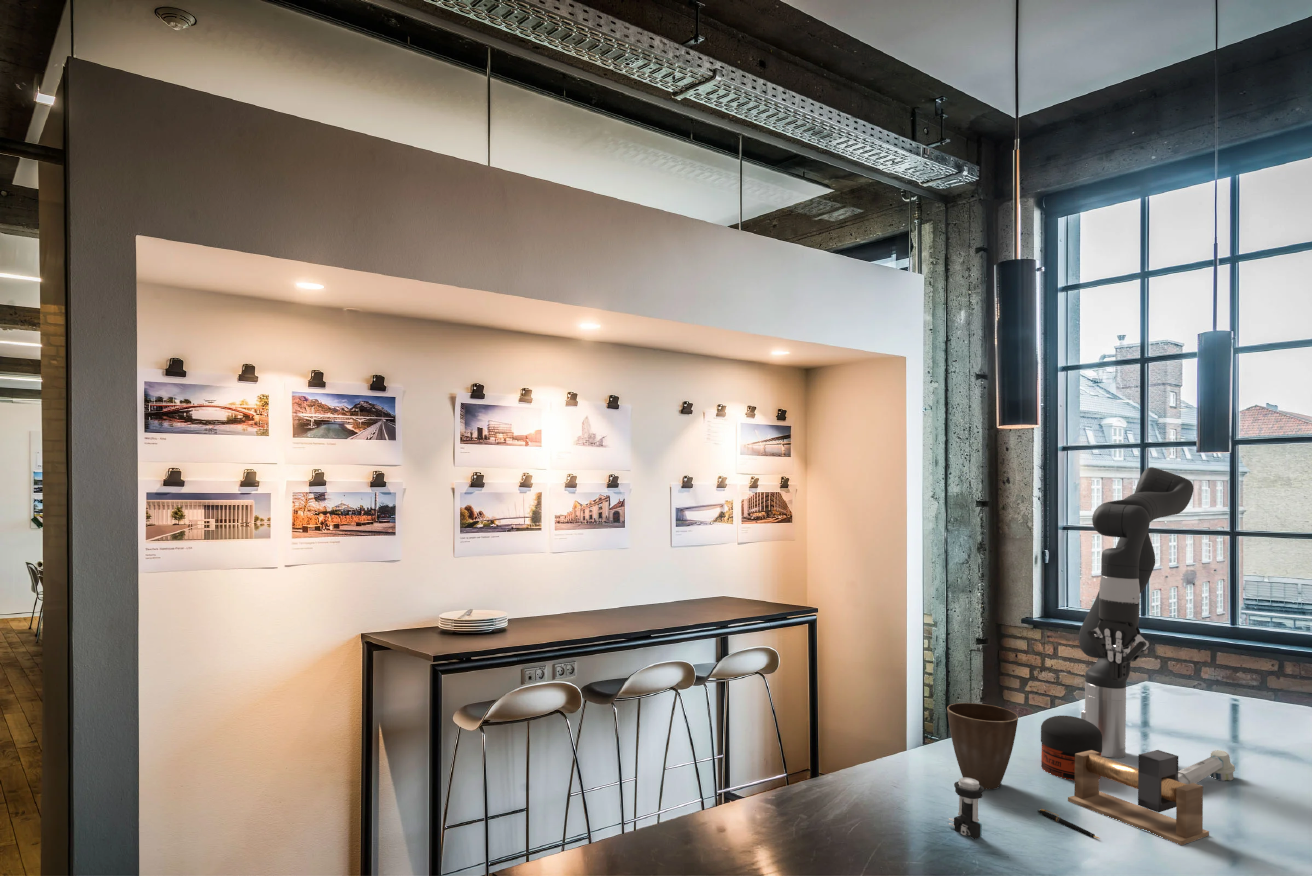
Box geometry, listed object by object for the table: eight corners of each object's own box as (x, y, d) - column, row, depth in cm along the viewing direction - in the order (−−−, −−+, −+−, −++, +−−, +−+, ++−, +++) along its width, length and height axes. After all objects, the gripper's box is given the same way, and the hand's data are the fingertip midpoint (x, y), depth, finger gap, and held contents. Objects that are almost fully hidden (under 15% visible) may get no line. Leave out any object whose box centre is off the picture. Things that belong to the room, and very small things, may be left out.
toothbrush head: (1159, 772, 184) (1213, 742, 197) (1161, 801, 184) (1215, 769, 197) (1184, 780, 179) (1238, 748, 192) (1186, 810, 179) (1240, 776, 192)
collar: (1137, 805, 163) (1138, 754, 164) (1157, 799, 167) (1157, 749, 167) (1158, 812, 160) (1159, 760, 160) (1177, 806, 163) (1178, 756, 164)
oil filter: (1109, 773, 193) (1052, 758, 202) (1110, 721, 193) (1052, 708, 202) (1091, 786, 184) (1031, 770, 193) (1091, 731, 184) (1032, 717, 193)
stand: (1067, 801, 174) (1068, 754, 175) (1095, 793, 179) (1096, 748, 180) (1181, 845, 154) (1181, 792, 155) (1209, 835, 159) (1209, 784, 160)
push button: (941, 829, 157) (942, 777, 158) (957, 823, 161) (958, 771, 161) (972, 842, 152) (973, 788, 153) (988, 836, 155) (989, 782, 156)
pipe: (1085, 774, 174) (1085, 754, 174) (1096, 771, 176) (1097, 751, 176) (1178, 807, 158) (1179, 785, 158) (1190, 803, 160) (1190, 782, 160)
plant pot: (934, 782, 182) (936, 710, 183) (961, 766, 193) (962, 698, 194) (1002, 802, 172) (1003, 726, 173) (1026, 784, 183) (1028, 712, 184)
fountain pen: (1103, 842, 155) (1103, 834, 155) (1099, 843, 154) (1099, 835, 155) (1039, 813, 168) (1039, 805, 168) (1035, 814, 167) (1035, 806, 167)
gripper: (1079, 593, 177) (1077, 673, 177) (1139, 604, 166) (1138, 689, 165) (1100, 592, 181) (1098, 670, 180) (1161, 602, 169) (1159, 686, 169)
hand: (1117, 679), depth 173 cm, fingers closed
